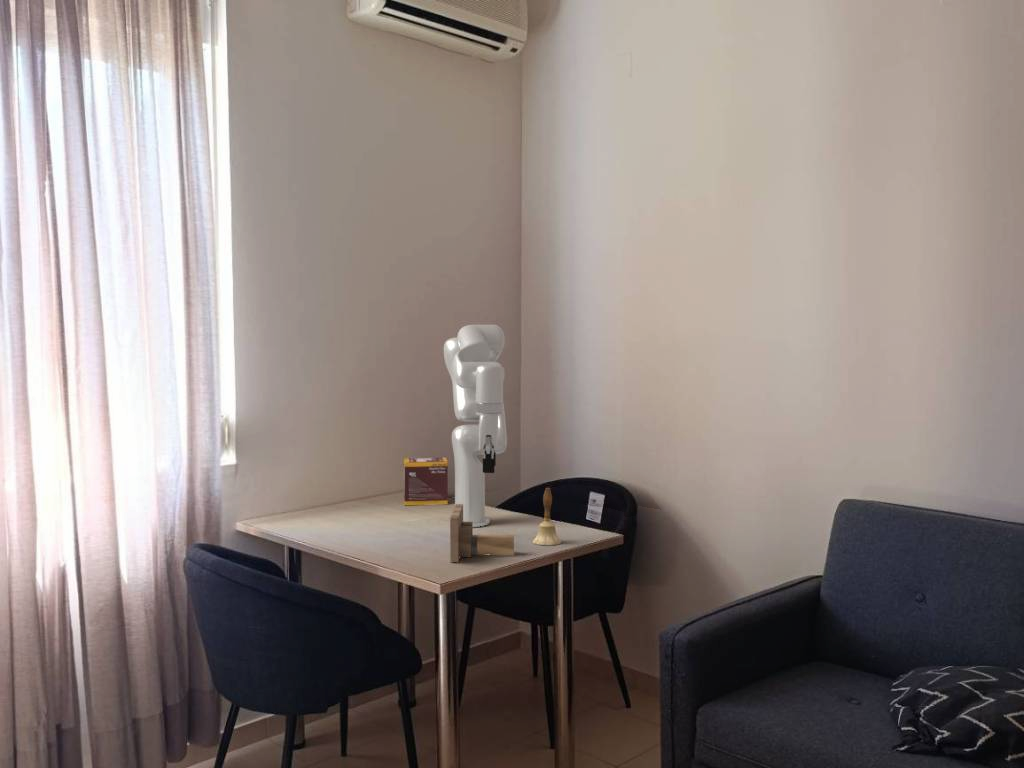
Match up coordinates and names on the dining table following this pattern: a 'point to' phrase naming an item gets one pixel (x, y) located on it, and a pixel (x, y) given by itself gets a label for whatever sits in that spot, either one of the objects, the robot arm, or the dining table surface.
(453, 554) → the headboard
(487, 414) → the robot arm
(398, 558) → the dining table surface
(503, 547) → the tan and gray block
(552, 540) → the hand bell
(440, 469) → the supplement box
